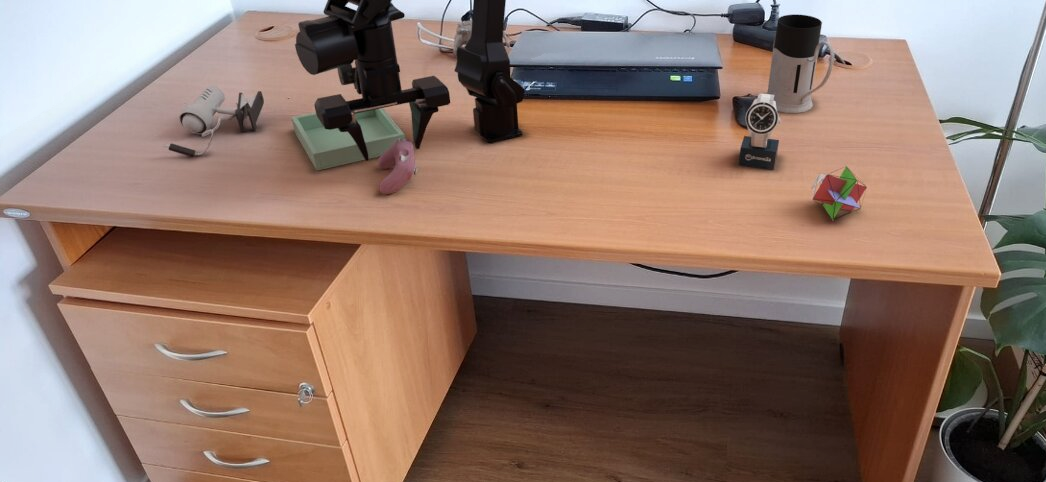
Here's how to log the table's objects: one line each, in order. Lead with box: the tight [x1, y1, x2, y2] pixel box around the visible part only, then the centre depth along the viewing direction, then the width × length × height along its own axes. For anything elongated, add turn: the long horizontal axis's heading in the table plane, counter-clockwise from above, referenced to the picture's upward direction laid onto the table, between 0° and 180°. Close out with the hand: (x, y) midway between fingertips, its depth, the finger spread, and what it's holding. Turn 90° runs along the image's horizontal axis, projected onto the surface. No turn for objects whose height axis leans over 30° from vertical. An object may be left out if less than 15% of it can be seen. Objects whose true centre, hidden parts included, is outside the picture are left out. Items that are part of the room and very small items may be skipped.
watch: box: [738, 93, 782, 171], centre depth 127 cm, size 6×8×11 cm
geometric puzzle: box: [811, 165, 868, 221], centre depth 116 cm, size 7×7×8 cm
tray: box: [291, 108, 406, 172], centre depth 136 cm, size 15×16×3 cm
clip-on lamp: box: [163, 85, 265, 158], centre depth 137 cm, size 12×6×18 cm
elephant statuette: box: [452, 19, 511, 58], centre depth 167 cm, size 9×12×8 cm
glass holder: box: [766, 14, 835, 114], centre depth 143 cm, size 9×14×15 cm, turn 25°
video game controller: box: [377, 138, 418, 195], centre depth 124 cm, size 10×5×7 cm, turn 14°
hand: (392, 154), depth 125 cm, fingers open, 8 cm apart
